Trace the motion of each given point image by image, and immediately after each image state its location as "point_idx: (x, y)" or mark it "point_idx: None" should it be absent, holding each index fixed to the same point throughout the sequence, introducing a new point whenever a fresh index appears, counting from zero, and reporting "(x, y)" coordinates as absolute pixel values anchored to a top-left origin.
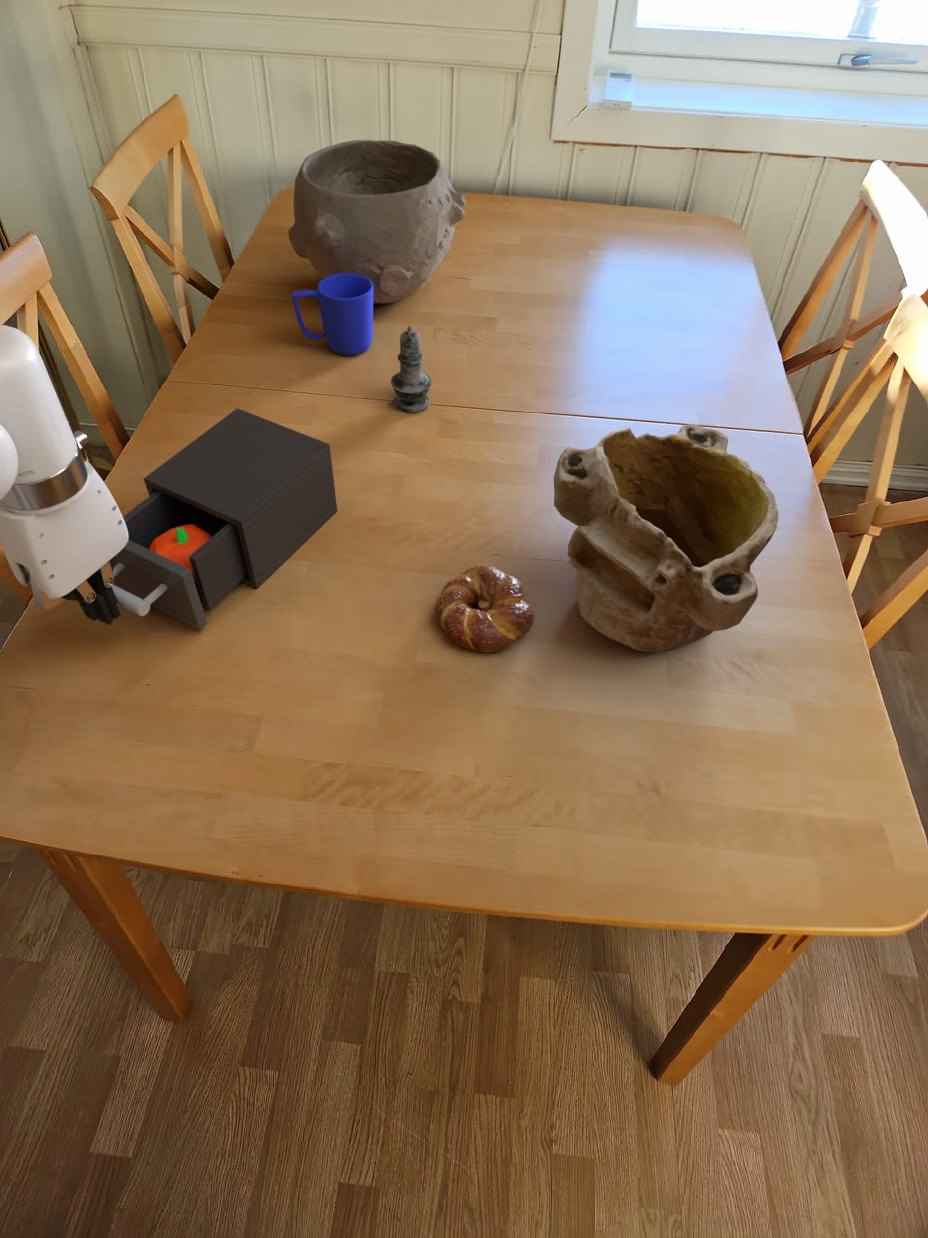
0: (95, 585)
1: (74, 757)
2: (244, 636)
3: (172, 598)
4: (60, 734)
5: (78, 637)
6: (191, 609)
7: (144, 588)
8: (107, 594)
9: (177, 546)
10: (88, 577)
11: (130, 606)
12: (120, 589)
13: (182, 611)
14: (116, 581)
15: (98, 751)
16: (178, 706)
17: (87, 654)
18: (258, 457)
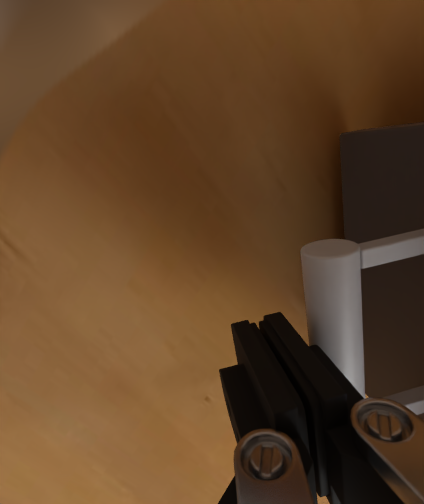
0: (337, 485)
1: (13, 454)
2: None
3: (398, 378)
4: (15, 397)
5: (182, 193)
6: None
7: (384, 277)
8: (328, 498)
9: None
10: (357, 466)
11: None
12: (360, 362)
13: (374, 373)
14: (359, 155)
15: (56, 466)
16: (212, 463)
17: (168, 254)
18: None
